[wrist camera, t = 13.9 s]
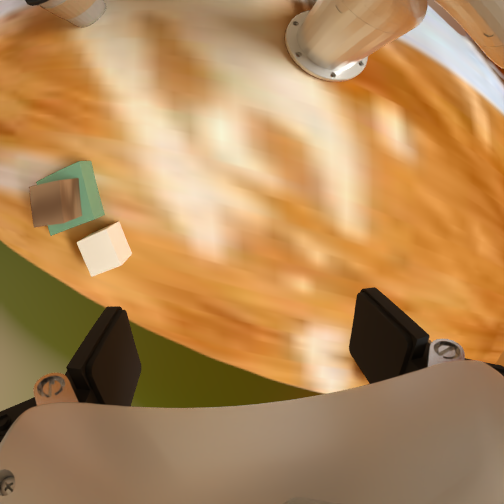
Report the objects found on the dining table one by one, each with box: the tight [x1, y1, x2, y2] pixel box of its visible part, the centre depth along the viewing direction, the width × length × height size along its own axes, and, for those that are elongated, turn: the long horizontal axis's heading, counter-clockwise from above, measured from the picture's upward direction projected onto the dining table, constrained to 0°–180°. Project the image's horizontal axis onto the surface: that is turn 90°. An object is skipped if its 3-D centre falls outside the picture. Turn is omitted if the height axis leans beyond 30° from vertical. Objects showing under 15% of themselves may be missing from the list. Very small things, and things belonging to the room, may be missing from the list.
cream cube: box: [77, 222, 132, 276], centre depth 35 cm, size 5×5×5 cm
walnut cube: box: [29, 178, 82, 227], centre depth 28 cm, size 5×5×5 cm
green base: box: [36, 161, 105, 236], centre depth 33 cm, size 8×8×4 cm
